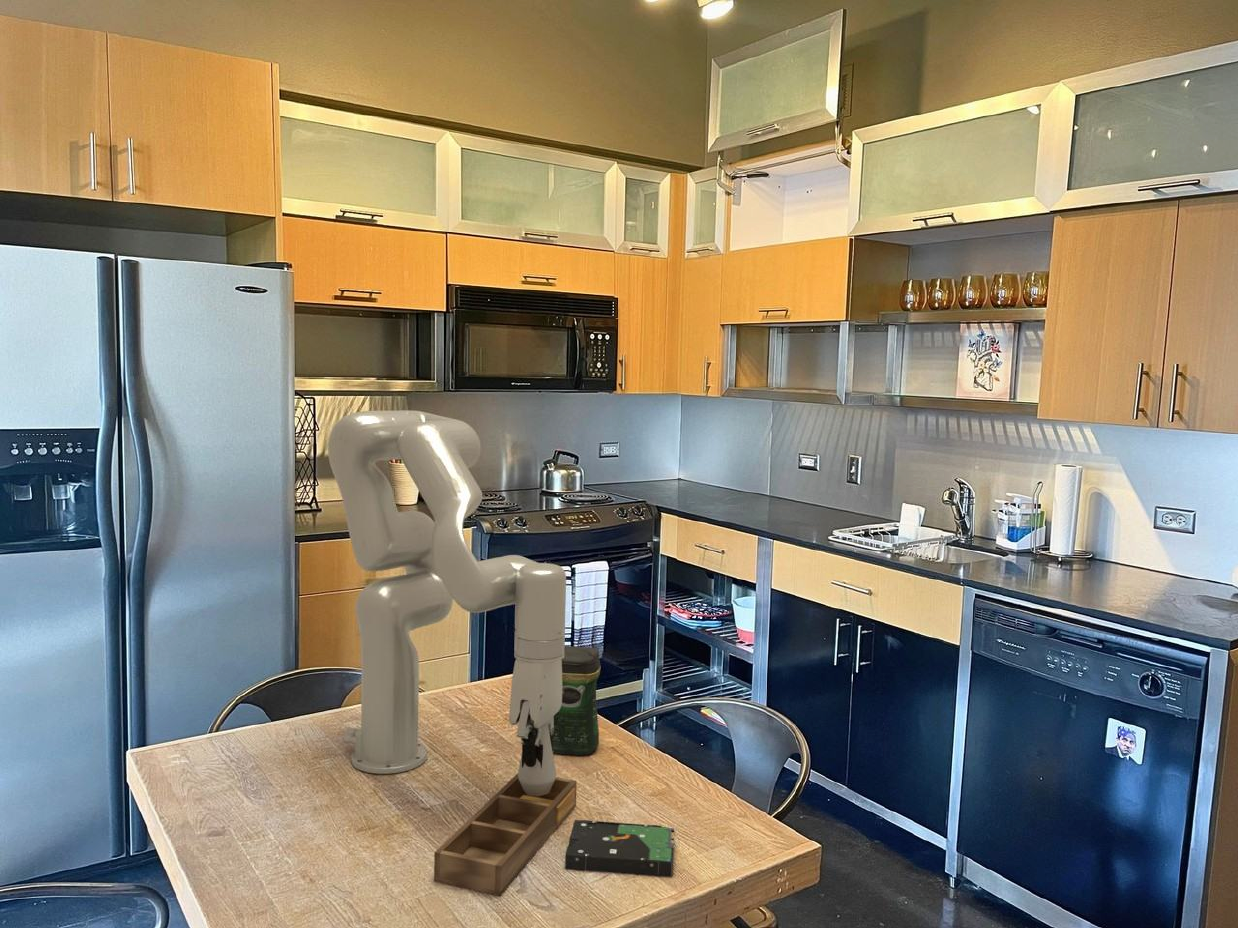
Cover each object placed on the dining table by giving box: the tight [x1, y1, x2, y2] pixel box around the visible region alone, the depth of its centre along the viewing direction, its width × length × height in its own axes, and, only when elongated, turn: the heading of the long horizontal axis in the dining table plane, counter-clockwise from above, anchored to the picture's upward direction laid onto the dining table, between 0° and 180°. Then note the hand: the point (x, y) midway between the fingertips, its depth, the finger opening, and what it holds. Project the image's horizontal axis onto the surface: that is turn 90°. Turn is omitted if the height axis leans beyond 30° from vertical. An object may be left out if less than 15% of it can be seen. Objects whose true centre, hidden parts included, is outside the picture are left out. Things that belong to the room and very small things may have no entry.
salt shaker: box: [517, 714, 557, 796], centre depth 140 cm, size 6×6×13 cm
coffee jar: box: [551, 645, 601, 756], centre depth 166 cm, size 10×8×19 cm
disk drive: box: [564, 819, 676, 878], centre depth 130 cm, size 10×3×15 cm
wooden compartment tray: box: [433, 772, 578, 897], centre depth 133 cm, size 10×27×4 cm, turn 162°
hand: (537, 763), depth 141 cm, fingers closed on salt shaker, 3 cm apart
